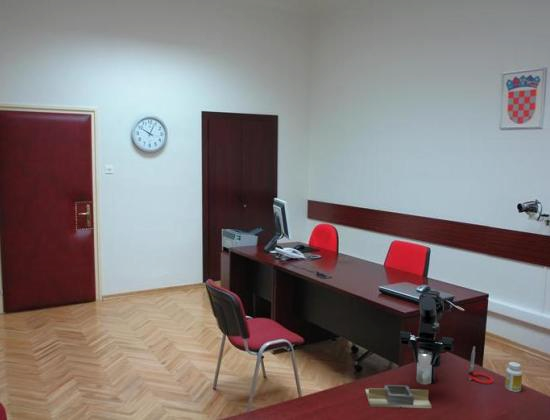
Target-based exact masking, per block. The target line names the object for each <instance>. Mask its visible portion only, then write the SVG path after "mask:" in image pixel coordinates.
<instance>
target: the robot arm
mask: <svg viewBox="0 0 550 420" xmlns="http://www.w3.org/2000/svg"><path fill="white" fill-rule="evenodd" d="M440 293H441V292H440V291H438V290H437V291H436V290H430V289H429V290H427V291H422V292H421V294H420V295H419V297H418V301H417V305H418V306H419V313H420V315H419V316H420V317H419V327H417V328H418V329H417V335H418V336H416V335H412V332H411V331H410V332H409V331H403V330H401V331H400V332H399V336H398V337H399V338H398V339H399V343H400V344H401V345H405V346H406V345H407V346H408V348H411V350H412V353H413V356H414V361H415V364H416V365H417V357H418V351H420V350H426V351H430V352H432V373H431V383H432V384H436V383H435V382H436V378H437V377H436V375H435V372H436V371H435V369H436V368H439V367H440V366H441V355H440V353H444V351H446V352H447V351H448V352H453V351H454V343H455V342H454V338H453V337H449V336H448V337H447V336H442V337H441V339H436V333H438V334H439V333H440V323H439V322H438V321H440V320H441V319H442V315H444V310H445V309H444V308H445V306H444V305H445V300H444V299H443V297H442V296H440ZM417 344H418V345H417ZM431 383H430V384H431Z"/></svg>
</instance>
